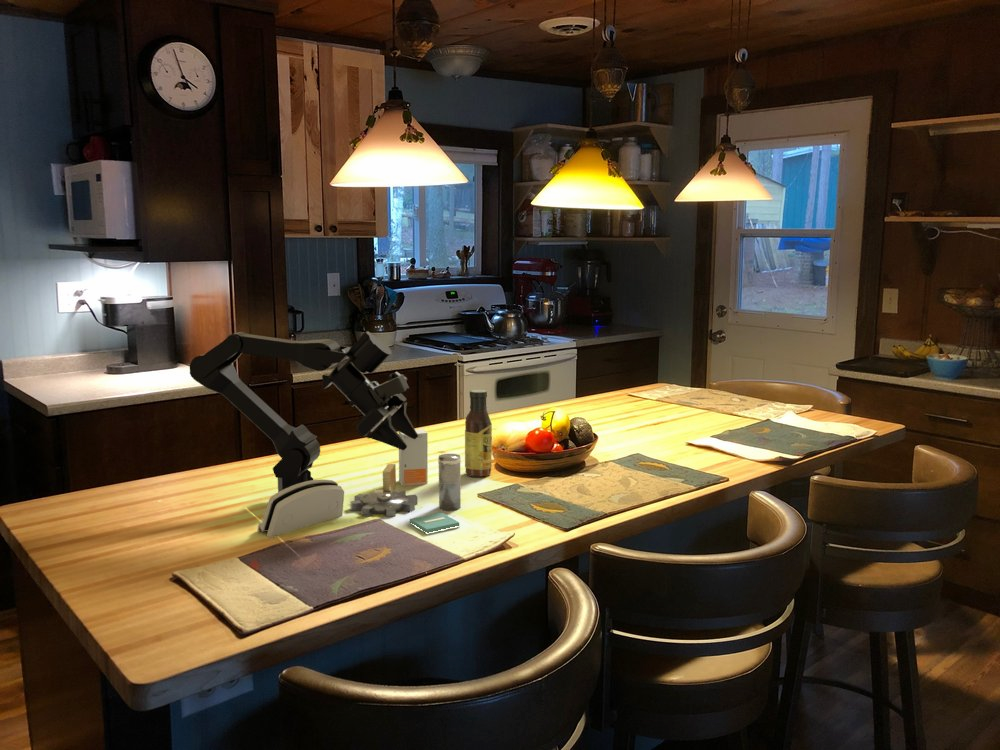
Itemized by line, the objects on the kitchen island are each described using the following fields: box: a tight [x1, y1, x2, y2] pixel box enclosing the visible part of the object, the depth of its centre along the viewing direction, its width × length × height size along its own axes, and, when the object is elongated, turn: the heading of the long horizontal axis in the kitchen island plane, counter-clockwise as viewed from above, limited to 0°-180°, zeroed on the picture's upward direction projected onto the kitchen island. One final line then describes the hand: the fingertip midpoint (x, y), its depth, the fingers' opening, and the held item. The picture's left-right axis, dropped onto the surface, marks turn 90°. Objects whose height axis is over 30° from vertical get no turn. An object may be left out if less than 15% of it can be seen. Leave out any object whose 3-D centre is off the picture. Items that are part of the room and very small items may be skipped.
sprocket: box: [349, 463, 418, 518], centre depth 174 cm, size 16×13×6 cm
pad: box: [409, 512, 460, 533], centre depth 162 cm, size 7×7×1 cm
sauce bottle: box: [464, 389, 493, 478], centre depth 196 cm, size 7×6×20 cm
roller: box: [437, 453, 462, 512], centre depth 172 cm, size 4×4×11 cm
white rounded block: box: [257, 479, 345, 538], centre depth 162 cm, size 17×5×10 cm, turn 137°
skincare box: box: [398, 428, 429, 487], centre depth 190 cm, size 6×4×12 cm
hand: (411, 443), depth 172 cm, fingers open, 9 cm apart
